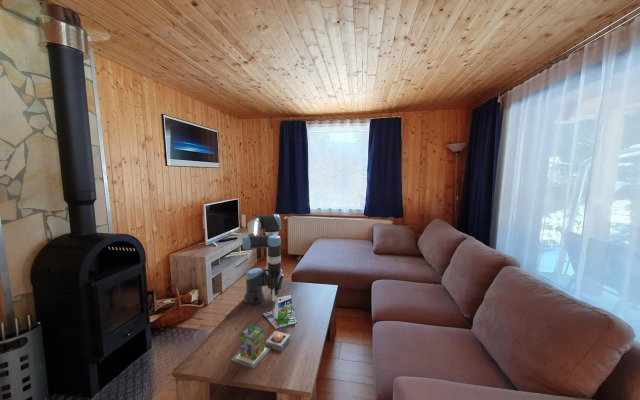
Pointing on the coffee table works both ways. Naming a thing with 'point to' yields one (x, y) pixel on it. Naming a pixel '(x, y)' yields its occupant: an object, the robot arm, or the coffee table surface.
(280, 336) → the button
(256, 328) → the chalk box
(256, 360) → the slate
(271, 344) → the button console
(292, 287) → the coffee table surface
